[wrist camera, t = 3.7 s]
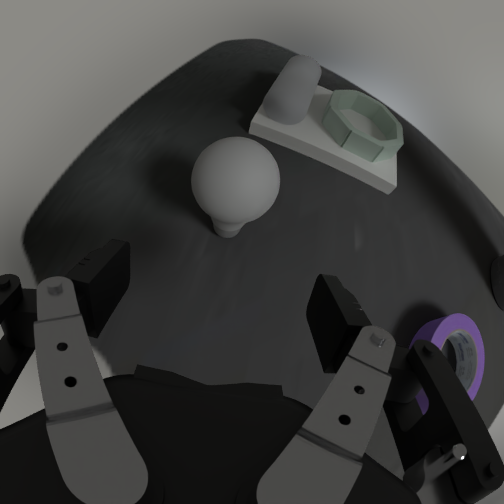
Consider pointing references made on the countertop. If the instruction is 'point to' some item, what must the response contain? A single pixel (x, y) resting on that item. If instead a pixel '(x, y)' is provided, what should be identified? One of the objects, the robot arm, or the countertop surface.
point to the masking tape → (456, 350)
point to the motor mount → (330, 125)
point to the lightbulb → (235, 183)
